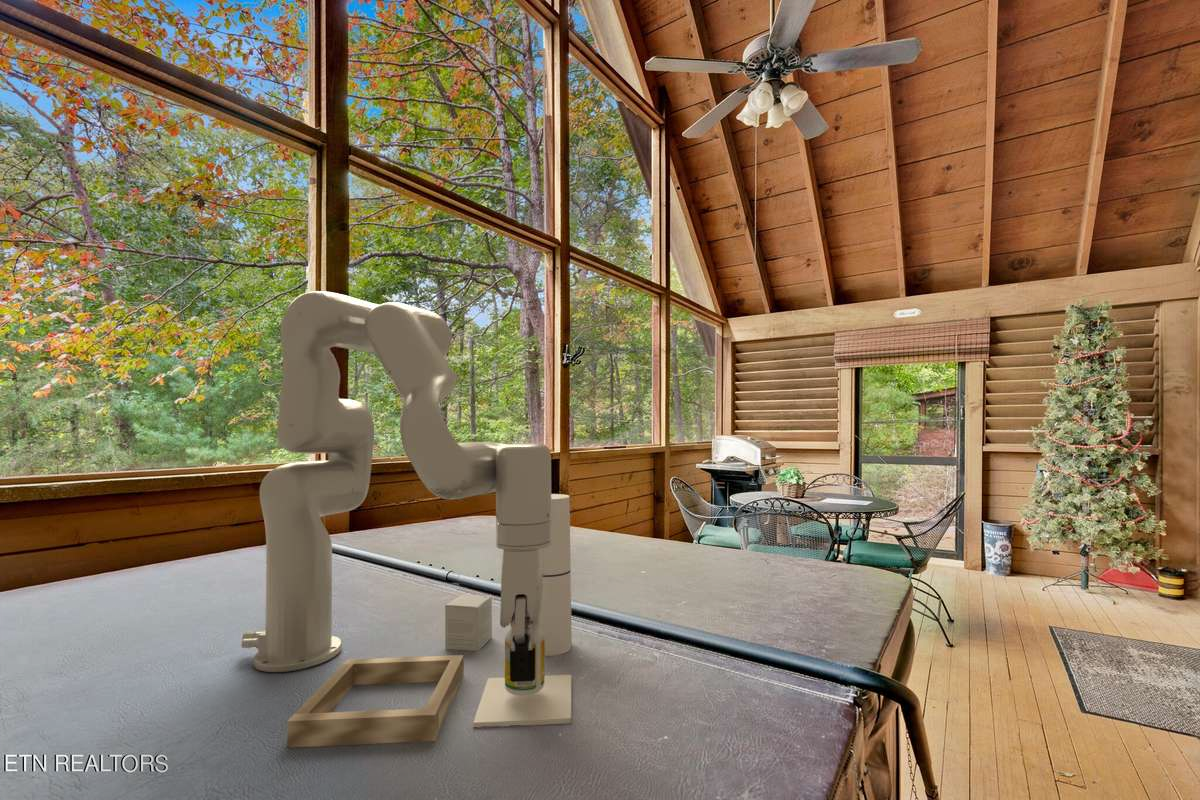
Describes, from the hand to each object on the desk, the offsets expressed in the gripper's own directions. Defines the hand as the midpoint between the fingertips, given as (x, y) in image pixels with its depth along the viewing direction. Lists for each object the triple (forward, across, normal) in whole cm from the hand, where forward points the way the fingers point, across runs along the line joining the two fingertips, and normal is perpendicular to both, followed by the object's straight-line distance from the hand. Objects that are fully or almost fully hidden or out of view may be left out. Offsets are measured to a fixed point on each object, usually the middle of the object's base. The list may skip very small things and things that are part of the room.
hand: (524, 668), depth 74 cm
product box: (+5, -21, -11) cm, 24 cm away
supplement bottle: (+3, 0, 0) cm, 3 cm away
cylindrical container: (+5, -18, +3) cm, 19 cm away
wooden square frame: (+4, 0, -18) cm, 19 cm away
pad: (+4, 0, 0) cm, 4 cm away
